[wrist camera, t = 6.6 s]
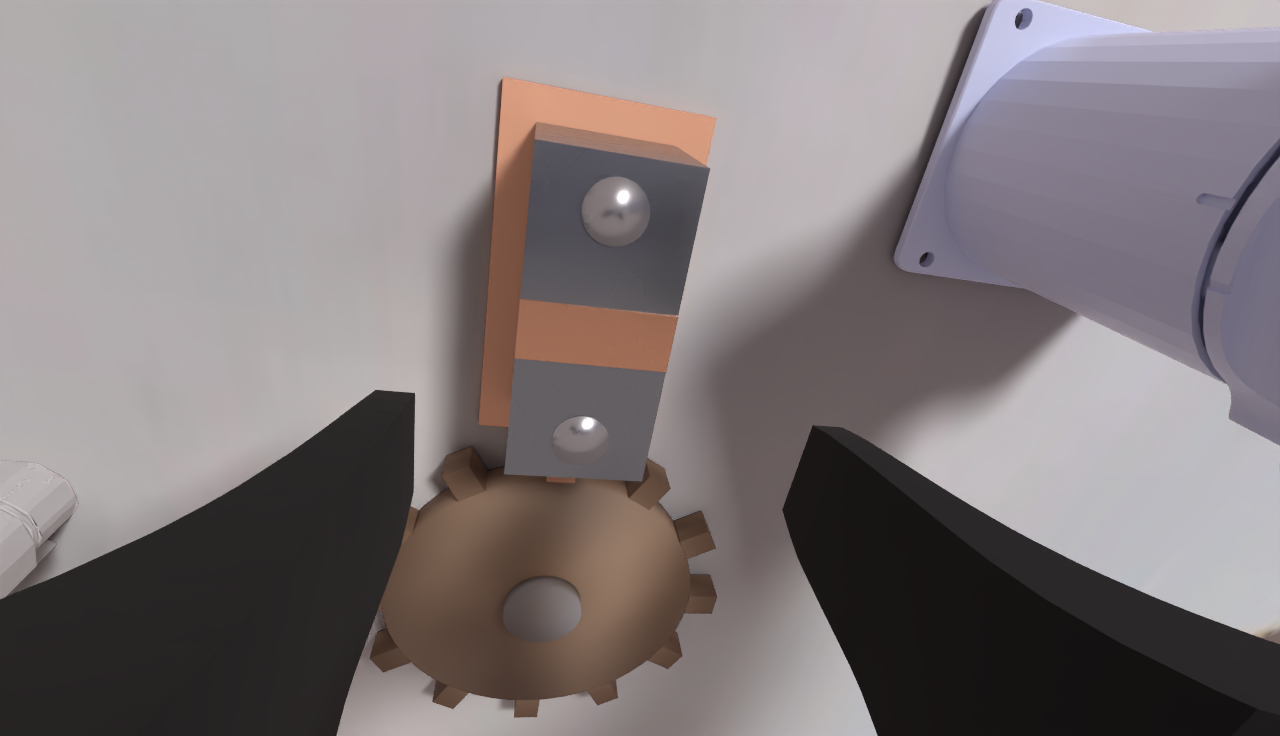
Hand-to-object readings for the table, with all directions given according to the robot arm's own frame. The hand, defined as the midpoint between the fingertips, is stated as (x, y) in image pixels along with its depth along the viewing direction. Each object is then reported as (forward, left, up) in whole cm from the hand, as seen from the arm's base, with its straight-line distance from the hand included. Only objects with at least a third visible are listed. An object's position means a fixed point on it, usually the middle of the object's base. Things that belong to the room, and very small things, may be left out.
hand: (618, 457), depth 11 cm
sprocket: (0, +13, -9) cm, 16 cm away
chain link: (0, 0, -9) cm, 9 cm away
